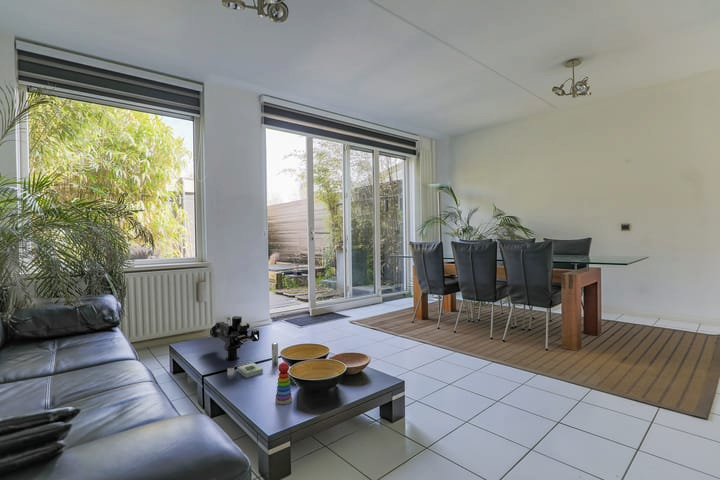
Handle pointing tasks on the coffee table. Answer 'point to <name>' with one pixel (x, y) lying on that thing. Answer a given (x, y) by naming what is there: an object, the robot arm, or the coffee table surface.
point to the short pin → (230, 373)
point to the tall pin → (274, 354)
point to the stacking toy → (283, 385)
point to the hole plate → (250, 370)
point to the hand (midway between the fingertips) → (250, 341)
